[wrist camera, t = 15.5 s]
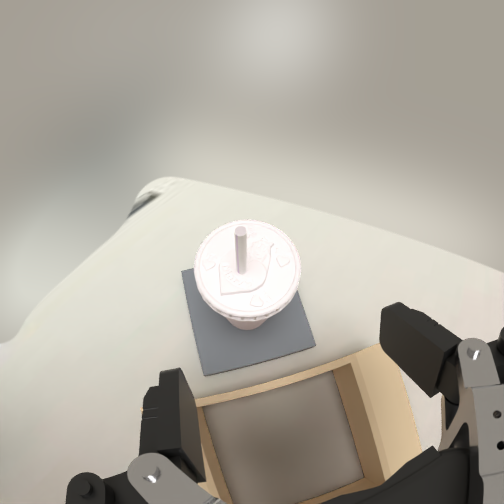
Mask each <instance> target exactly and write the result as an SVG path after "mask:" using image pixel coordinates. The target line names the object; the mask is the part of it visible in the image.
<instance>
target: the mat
mask: <svg viewBox="0 0 504 504" xmlns="http://www.w3.org/2000/svg"><path fill="white" fill-rule="evenodd" d="M181 272H182V277H183V283H184V288H185V293H186V298H187V303H188V308H189V313H190V318H191V323H192V327H193V332H194V336H195V341H196V345H197V349H198V354H199V358H200V362H201V366H202V370H203V374H204V376H209V375H213V374H218V373H222V372H226V371H231V370H235V369H239V368H243V367H247V366H251V365H254V364H258V363H262V362H266V361H269V360H273V359H276V358H280V357H283V356H286V355H290V354H293V353H296V352H300V351H303V350H306V349H309V348H312V347H314V346H316V344H315V341H314V338H313V335H312V332H311V329H310V326H309V323H308V320H307V317H306V314H305V311H304V308H303V305H302V302H301V299H300V297H299V294H298V291H296V293H295V294H294V296H293V298H292V300H291V301H290V302H289V303H288V304H287V305H286V306H285V307H284V308H283V309H282V310H281V311H280V312H278V313H276V314H275V315H273V316H271V317H269V318H267V319H266V320H265V321H264V322H263V323H262V324H261V325H260V326H259V327H257V328H255V329H252V330H241V329H238V328H236V327H235V326H233V325H232V324H231V323H230V322H229V320H228V319H227V318H226V317H224V316H222V315H221V314H219V313H217V312H216V311H214V310H213V309H212V308H211V307H210V306H209V305H208V304H207V303H206V302H205V301H204V300H203V298H202V296H201V294H200V292H199V290H198V288H197V283H196V280H195V275H194V268H193V269H188V270H184V271H181Z"/></svg>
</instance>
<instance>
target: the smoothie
mask: <svg viewBox="0 0 504 504" xmlns="http://www.w3.org/2000/svg"><path fill="white" fill-rule="evenodd" d="M194 275H195V280H196V283H197V288H198V290H199V292H200V294H201V296H202V298H203V300H204V301H205V302H206V303H207V304H208V305H209V306H210V307H211V308H212V309H213V310H214V311H216V312H217V313H219V314H221V315H222V316H224V317H226V318H227V319H228V320H229V322H230V323H231V324H232V325H233V326H235V327H236V328H238V329H241V330H252V329H255V328H257V327H259V326H260V325H261V324H262V323H263V322H264V321H265V320H266V319H267V318H269V317H271V316H273V315H275V314H276V313H278V312H280V311H281V310H282V309H283V308H284V307H285V306H286V305H287V304H288V303H289V302H290V301H291V300H292V298H293V296H294V294H295V293H296V291H297V288H298V284H299V280H300V276H301V261H300V257H299V253H298V251H297V249H296V247H295V245H294V243H293V242H292V241H291V239H290V238H289V237H288V236H287V235H286V234H285V233H284V232H283V231H281V230H280V229H278V228H277V227H275V226H273V225H271V224H269V223H266V222H263V221H258V220H249V219H246V220H236V221H232V222H229V223H226V224H224V225H222V226H220V227H218V228H216V229H215V230H213V231H212V232H211V233H210V234H209V235H208V236H207V237H206V238H205V239H204V240H203V242H202V243H201V245H200V246H199V249H198V251H197V253H196V257H195V261H194Z"/></svg>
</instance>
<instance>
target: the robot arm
mask: <svg viewBox="0 0 504 504" xmlns="http://www.w3.org/2000/svg"><path fill="white" fill-rule="evenodd" d="M379 340H380V345H381V348H382V349H383V351H384V352H385V353H386V354H387V355H388V356H389V357H390V358H391V359H392V360H393V361H394V362H395V363H396V364H397V365H398V366H399V367H400V368H401V369H402V370H403V371H404V372H405V373H406V374H407V375H408V376H409V377H410V378H411V379H412V380H413V381H414V382H415V383H416V384H417V385H418V386H419V387H420V388H421V389H422V390H423V391H424V392H425V393H426V394H427V395H428V396H429V397H430V398H431V397H433V396H434V395H436V394H437V393H439V392H441V393H442V394H443V395H442V398H441V416H442V436H441V442H440V445H439V448H438V451H437V450H436V449H435V448H434V447H433V446H431V447H430V448H428V449H427V450H425V451H424V452H422V453H421V454H419V455H418V456H416V457H414V458H413V459H411V460H409V461H408V462H406V463H405V464H404V465H403V466H402V467H401V468H400V469H399V470H398V471H397V472H395V473H394V474H393V475H392V476H391V477H390V478H389V479H387V480H386V481H385V482H384V483H383V484H381V485H380V486H377V487H374V488H370V489H366V490H362V491H358V492H353V493H348V494H343V495H340V496H338V497H335V498H332V499H330V500H327V501H325V502H322V503H319V504H504V328H502V330H501V332H500V335H499V338H498V340H495V341H492V342H489V343H485V342H484V341H482V340H480V339H477V338H468V339H465V340H461V339H460V338H459V337H457V336H456V335H454V334H453V333H452V332H450V331H449V330H447V329H446V328H445V327H443V326H442V325H440V324H438V323H437V322H436V321H435V320H432V319H431V318H430V317H429V316H427V315H426V314H424V313H423V312H420V311H417V310H414V309H410V308H408V307H407V306H405V305H404V304H403V303H401V302H397V303H394V304H392V305H389V306H387V307H384V308H383V309H382V311H381V323H380V337H379ZM202 482H207V481H206V474H205V468H204V461H203V454H202V446H201V439H200V430H199V422H198V413H197V407H196V403H195V400H194V397H193V394H192V392H191V390H190V388H189V385H188V383H187V381H186V379H185V376H184V374H183V372H182V370H181V368H176V369H171V370H165V371H161V372H160V376H159V386H154V387H150V388H149V390H148V391H147V393H146V395H145V396H144V400H143V411H142V421H141V433H140V448H139V456H138V457H137V458H135V459H134V460H133V461H132V462H131V464H130V465H129V467H128V471H126V472H124V473H121V474H118V475H115V476H112V477H109V478H105V479H101V478H100V477H99V476H97V475H96V474H94V473H89V472H85V473H80V474H78V475H76V476H75V477H73V478H72V479H71V481H70V482H69V484H68V487H67V495H66V504H227V503H225V502H224V501H222V500H221V499H219V498H215V497H213V496H212V495H211V494H209V493H208V492H207V491H205V490H204V489H203V488H201V487H200V486H199V485H198V483H202Z"/></svg>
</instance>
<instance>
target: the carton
mask: <svg viewBox="0 0 504 504" xmlns="http://www.w3.org/2000/svg"><path fill="white" fill-rule="evenodd" d="M330 370H332V371H333V374H334V377H335V380H336V383H337V386H338V390H339V393H340V396H341V399H342V402H343V406H344V409H345V412H346V415H347V419H348V422H349V425H350V429H351V432H352V435H353V439H354V442H355V446H356V449H357V453H358V456H359V460H360V463H361V467H362V470H363V474H364V478H362V479H360V480H358V481H356V482H354V483H351V484H349V485H347V486H344V487H342V488H339V489H337V490H334V491H332V492H329V493H326V494H324V495H321V496H318V497H315V498H312V499H309V500H306V501H303V502H300V503H297V504H319V503H322V502H325V501H327V500H330V499H332V498H335V497H338V496H340V495H343V494H348V493H353V492H358V491H362V490H366V489H370V488H374V487H377V486H380V485H381V484H383V483H384V482H385V481H386V480H387V479H389V478H390V477H391V476H392V475H393V474H394V473H395V472H397V471H398V470H399V469H400V468H401V467H402V466H403V465H404V464H405V463H406V462H408V461H409V460H411V459H413V458H414V457H416V456H418V455H419V454H421V453H422V449H421V445H420V441H419V436H418V432H417V428H416V424H415V421H414V417H413V413H412V410H411V406H410V403H409V399H408V396H407V392H406V389H405V386H404V382H403V379H402V376H401V373H400V370H399V367H398V365H397V364H396V363H395V362H394V361H393V360H392V359H391V358H390V357H389V356H388V355H387V354H386V353H385V352H384V351H383V349H382V348H381V345H380V343H378V344H375V345H373V346H371V347H368V348H366V349H363V350H361V351H358V352H356V353H353V354H351V355H348V356H345V357H343V358H340V359H337V360H335V361H332V362H329V363H326V364H324V365H321V366H318V367H315V368H312V369H309V370H306V371H303V372H300V373H297V374H293V375H290V376H287V377H284V378H280V379H277V380H273V381H270V382H266V383H263V384H259V385H255V386H251V387H248V388H244V389H240V390H235V391H231V392H227V393H223V394H218V395H213V396H209V397H204V398H199V399H194V400H195V403H196V407H197V413H198V422H199V430H200V439H201V446H202V454H203V461H204V468H205V474H206V481H207V482H202V483H198V485H199V486H200V487H201V488H203V489H204V490H205V491H207V492H208V493H209V494H211V495H212V496H213V497H215V498H219V499H221V500H222V501H224V502H225V503H227V504H233V502H232V499H231V496H230V493H229V491H228V488H227V485H226V482H225V480H224V477H223V474H222V471H221V468H220V465H219V462H218V459H217V456H216V453H215V449H214V446H213V443H212V440H211V436H210V433H209V430H208V426H207V423H206V419H205V416H204V412H203V409H202V406H205V405H210V404H215V403H220V402H224V401H229V400H233V399H237V398H241V397H245V396H249V395H253V394H257V393H261V392H264V391H268V390H271V389H275V388H278V387H282V386H285V385H288V384H292V383H295V382H298V381H301V380H304V379H307V378H310V377H313V376H316V375H319V374H322V373H325V372H327V371H330ZM142 411H143V407H142V408H141V412H142Z"/></svg>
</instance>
